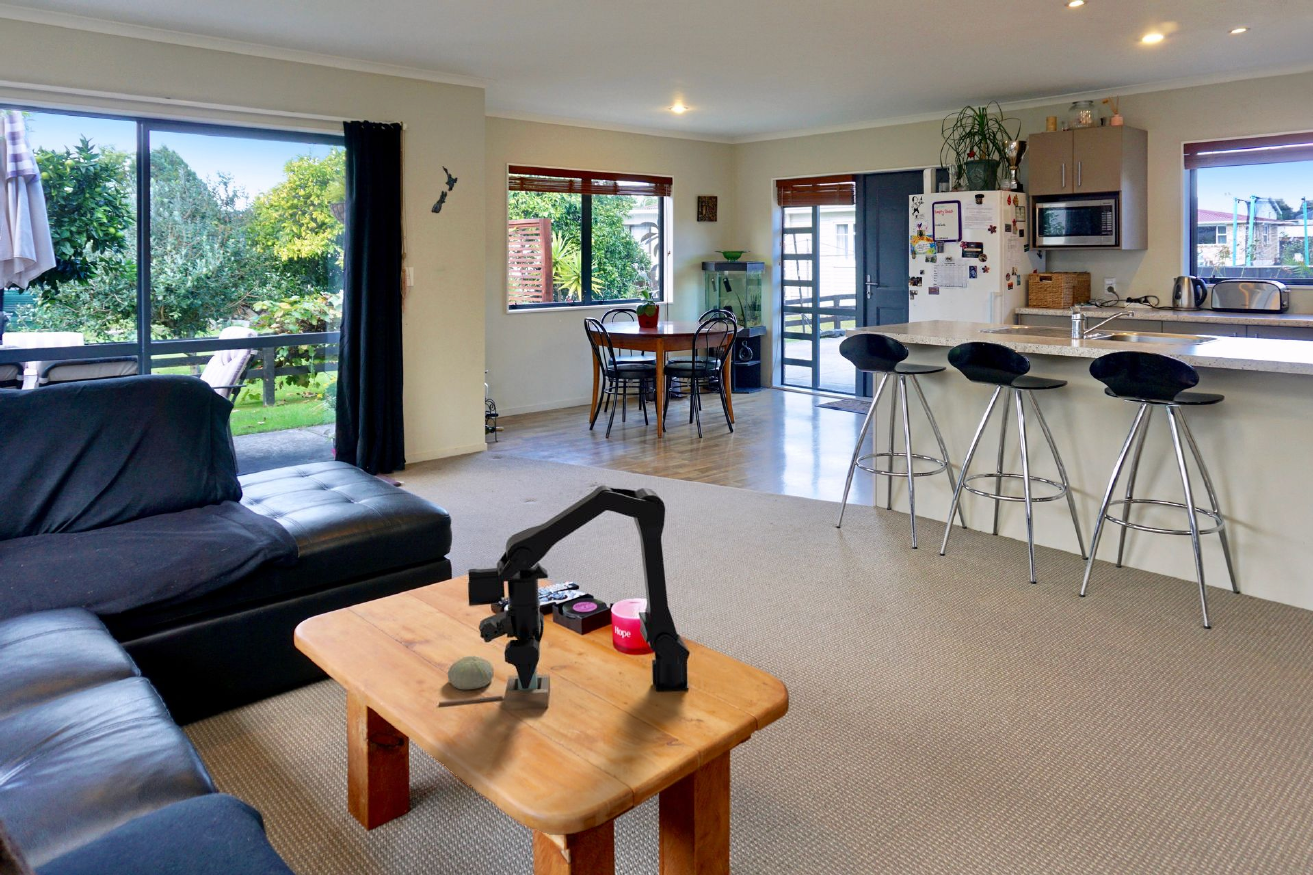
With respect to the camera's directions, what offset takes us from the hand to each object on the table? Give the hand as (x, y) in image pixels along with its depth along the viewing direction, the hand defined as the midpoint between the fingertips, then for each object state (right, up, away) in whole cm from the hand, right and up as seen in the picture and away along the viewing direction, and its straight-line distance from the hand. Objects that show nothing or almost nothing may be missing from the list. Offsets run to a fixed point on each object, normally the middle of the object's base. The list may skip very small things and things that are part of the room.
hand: (527, 677), depth 181 cm
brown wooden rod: (-11, -5, 0) cm, 12 cm away
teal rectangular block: (0, -4, +1) cm, 5 cm away
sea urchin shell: (-13, -3, +9) cm, 16 cm away
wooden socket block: (0, -4, +1) cm, 4 cm away
